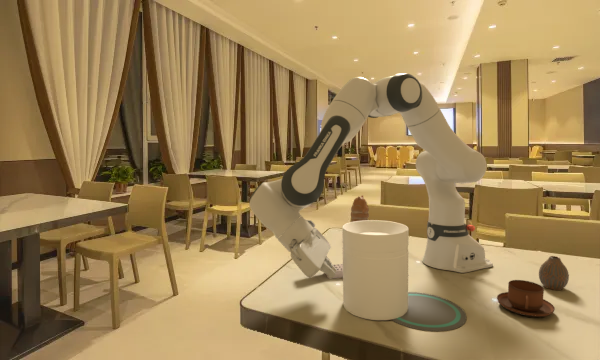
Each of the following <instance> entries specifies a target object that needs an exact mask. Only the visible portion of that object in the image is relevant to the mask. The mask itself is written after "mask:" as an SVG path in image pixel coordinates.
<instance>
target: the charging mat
mask: <svg viewBox="0 0 600 360" xmlns="http://www.w3.org/2000/svg"><path fill="white" fill-rule="evenodd" d="M466 314H467V313H466V312H465V310H464V309H463V308H462V307H461V306H459V305H458V304H457V303H455V302H453V301H451V300H449V299H446V298H444V297H442V296H437V295H434V294H429V293H426V292H425V293H424V292H416V291H415V292H414V291H408V310H407V312H406V313H405V314H404V315H403V316H401V317H398V318H396V319H390V320H391V321H392V322H394V323H396V324H398V325H401V326H404V327H407V328H411V329H413V330H414V329H415V330H419V331H426V332H444V331H445V332H447V331H452V330H455V329H458V328H460V327H462V326H463V325H464V324H465V323H466V322H467V315H466Z"/></svg>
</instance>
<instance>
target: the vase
mask: <svg viewBox="0 0 600 360" xmlns="http://www.w3.org/2000/svg"><path fill="white" fill-rule="evenodd" d="M538 279H539V281H540V283H541V284H542V285H543V287H545V288H547V289H550V290H553V291H560V290H563V289H565V288H566V286H568V283H569V279H570V274H569V270H568V269H567V267H566V265H565V264H564V263H563V261H562V260H561V257H559V256H556V255H555V256H554V255H550V256H549V257H548V259H546V261H544V262H543V263H542V264H541V265H540V267H539V270H538Z"/></svg>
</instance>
